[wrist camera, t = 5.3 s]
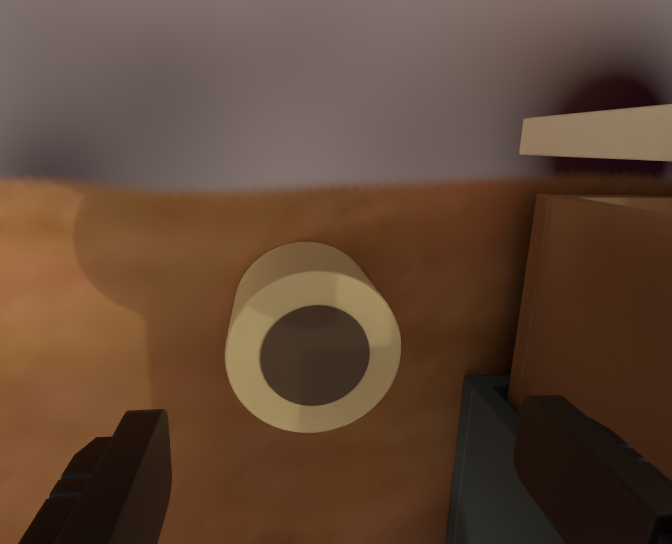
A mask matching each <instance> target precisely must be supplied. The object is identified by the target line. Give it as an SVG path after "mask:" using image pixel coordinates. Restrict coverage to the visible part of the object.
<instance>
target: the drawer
mask: <svg viewBox="0 0 672 544" xmlns="http://www.w3.org/2000/svg"><path fill="white" fill-rule="evenodd" d="M519 154H520V155H540V156H562V157H584V158H607V159H629V160H652V161H672V104H665V105H655V106H644V107H634V108H625V109H614V110H603V111H593V112H583V113H572V114H562V115H552V116H541V117H531V118H525V119H524V120H523V127H522V135H521V143H520V151H519ZM537 395H562V396H564V397H565V398H566V399H567V400H568V401H570V402H571V403H572V404H573V405H574V406H575V407H577V408H578V409H579V410H580V411H581V412H582V413H583V414H585V415H586V416H588V417H589V418H591V419H593V420H595V421H597V422H599V423H600V424H602V425H604V426H606V427H608V428H610V429H611V430H612V431H613V432H615V433H616V434H617V435H618V436H619V437H620V438H622V439H623V440H624V441H625V442H626V443H628V444H629V447H630V448H633V449H635V450H636V451H637V452H638V453H639V454H641V455H642V456H643V457H644V458H645V461H646V462H650V463H651V464H652V465H653V466H655V467H656V468H657V469H658V470H659V471H661V472H662V473H663V474H664V475H665V476H666V477H668V478H669V479H670V480H671V481H672V195H606V194H537V197H536V204H535V211H534V218H533V225H532V231H531V238H530V245H529V252H528V259H527V266H526V273H525V280H524V287H523V293H522V300H521V307H520V314H519V321H518V328H517V335H516V342H515V349H514V355H513V362H512V369H511V376H510V383H509V390H508V397H507V403H508V404H509V405H510V406H511V408H512V409H513V410H514V411H515V412H516V413H517V414H518V415H519V416H520V412H521V406H522V403H523V400H524V399H525V398H526V397H527V396H537Z"/></svg>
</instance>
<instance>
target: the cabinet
mask: <svg viewBox="0 0 672 544" xmlns="http://www.w3.org/2000/svg"><path fill="white" fill-rule="evenodd" d="M510 376H511V374H507V375H489V376H470V377H465V379H464V388H463V396H462V405H461V414H460V422H459V431H458V440H457V449H456V457H455V466H454V475H453V484H452V492H451V501H450V510H449V518H448V527H447V536H446V544H566V543H565V542H564V541H563V539H562V538H561V537H560V535H559V534H558V533H557V531H556V530H555V528H554V527H553V526H552V524H551V523H550V522H549V520H548V519H547V517H546V516H545V515H544V513H543V512H542V511H541V509H540V508H539V507H538V505H537V504H536V502H535V501H534V500H533V498H532V497H531V496H530V494H529V493H528V492H527V490H526V489H525V487H524V486H523V485H522V483H521V482H520V480H519V478H518V476H517V474H516V470H515V467H514V460H513V453H514V447H515V441H516V435H517V429H518V423H519V418H520V416H519V415H518V414H517V413H516V412H515V411H514V410H513V409H512V408H511V406H510V405H509V404H508V403H507V397H508V390H509V383H510Z"/></svg>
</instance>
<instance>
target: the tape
mask: <svg viewBox="0 0 672 544" xmlns="http://www.w3.org/2000/svg"><path fill="white" fill-rule="evenodd" d="M400 357H401V336H400V330H399V326H398V323H397V320H396V318H395V316H394V314H393V311H392V310H391V308H390V307H389V305H388V304H387V302H386V301H385V300H384V298H383V297H382V296H381V294H380V293H379V292H378V290H377V289H376V288H375V286H374V285H373V284H372V283H371V281H370V280H369V279H368V277H367V276H366V275H365V273H364V272H363V271H362V269H361V268H360V267H359V266H358V265H357V263H356V262H355V261H354V260H353V259H351V258H350V257H349V256H348V255H347V254H345V253H343V252H342V251H340V250H338V249H336V248H334V247H332V246H329V245H326V244H322V243H317V242H306V241H305V242H294V243H289V244H285V245H282V246H279V247H276V248H274V249H272V250H270V251H268V252H267V253H265V254H264V255H262V256H261V257H260V258H258V259H257V260H256V261H255V262H254V263H253V264H252V265H251V266H250V267H249V268H248V270H247V271H246V273H245V274H244V276H243V277H242V279H241V281H240V283H239V285H238V288H237V291H236V294H235V299H234V304H233V309H232V314H231V320H230V325H229V330H228V335H227V340H226V346H225V366H226V372H227V376H228V380H229V382H230V385H231V387H232V389H233V391H234V393H235V394H236V396H237V397H238V399H239V400H240V401H241V403H242V404H243V405H244V406H245V407H246V408H247V409H248V410H249V411H250V412H251V413H252V414H253V415H255V416H256V417H258V418H259V419H260V420H262V421H264V422H266V423H268V424H270V425H272V426H274V427H277V428H280V429H283V430H287V431H292V432H300V433H317V432H325V431H329V430H333V429H337V428H340V427H342V426H345V425H348V424H350V423H352V422H354V421H356V420H357V419H359V418H360V417H362V416H364V415H365V414H366V413H368V412H369V411H370V410H371V409H372V408H374V407H375V406H376V405H377V404H378V403H379V401H380V400H381V399H382V398H383V397H384V395H385V394H386V393H387V391H388V390H389V388H390V386H391V385H392V383H393V381H394V378H395V376H396V374H397V371H398V367H399V363H400Z"/></svg>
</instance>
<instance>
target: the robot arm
mask: <svg viewBox="0 0 672 544" xmlns="http://www.w3.org/2000/svg"><path fill="white" fill-rule="evenodd" d="M513 460H514V467H515V470H516V474H517V476H518V478H519V480H520V482H521V483H522V485H523V486H524V487H525V489H526V490H527V492H528V493H529V494H530V496H531V497H532V498H533V500H534V501H535V502H536V504H537V505H538V507H539V508H540V509H541V511H542V512H543V513H544V515H545V516H546V517H547V519H548V520H549V522H550V523H551V524H552V526H553V527H554V528H555V530H556V531H557V533H558V534H559V535H560V537H561V538H562V539H563V541H564V542H565V543H566V544H672V481H671V480H670V479H669V478H668V477H666V476H665V475H664V474H663V473H662V472H661V471H659V470H658V469H657V468H656V467H655V466H653V465H652V464H651V463H650V462H646V461H645V458H644V457H643V456H642V455H641V454H639V453H638V452H637V451H636V450H635V449H633V448H630V447H629V444H628V443H626V442H625V441H624V440H623V439H622V438H620V437H619V436H618V435H617V434H616V433H615V432H613V431H612V430H611V429H610V428H608V427H606V426H604V425H602V424H600V423H599V422H597V421H595V420H593V419H591V418H589V417H588V416H586V415H585V414H583V413H582V412H581V411H580V410H579V409H578V408H577V407H575V406H574V405H573V404H572V403H571V402H570V401H568V400H567V399H566V398H565V397H564V396H562V395H537V396H527V397H526V398H525V399H524V400H523V403H522V406H521V412H520V418H519V423H518V429H517V435H516V441H515V447H514V453H513ZM171 483H172V467H171V453H170V439H169V424H168V415H167V411H166V410H165V409H154V410H129V411H127V412H126V413H125V414H124V416H123V418H122V419H121V421H120V423H119V425H118V427H117V429H116V430H115V432H114V434H113V436H112V437H96V438H95V439H94V440H93V441H91V442H90V443H89V444H88V445H86V446H85V447H84V448H83V449H81V450H80V451H79V452H78V453H76V454H75V455H74V456H73V458H72V460H71V461H70V463H69V464H68V466H67V468H66V469H65V471H64V472H63V474H62V475H61V480H58V482H57V483H56V485H55V486H54V488H53V490H52V491H51V493H50V497H49V499H46V501H45V502H44V504H43V505H42V507H41V509H40V510H39V512H38V513H37V515H36V516H35V518H34V520H33V521H32V523H31V524H30V526H29V527H28V529H27V531H26V532H25V534H24V535H23V537H22V538H21V540H20V542H19V543H18V544H157V542H158V539H159V536H160V532H161V529H162V525H163V522H164V518H165V515H166V511H167V508H168V504H169V499H170V493H171Z"/></svg>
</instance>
